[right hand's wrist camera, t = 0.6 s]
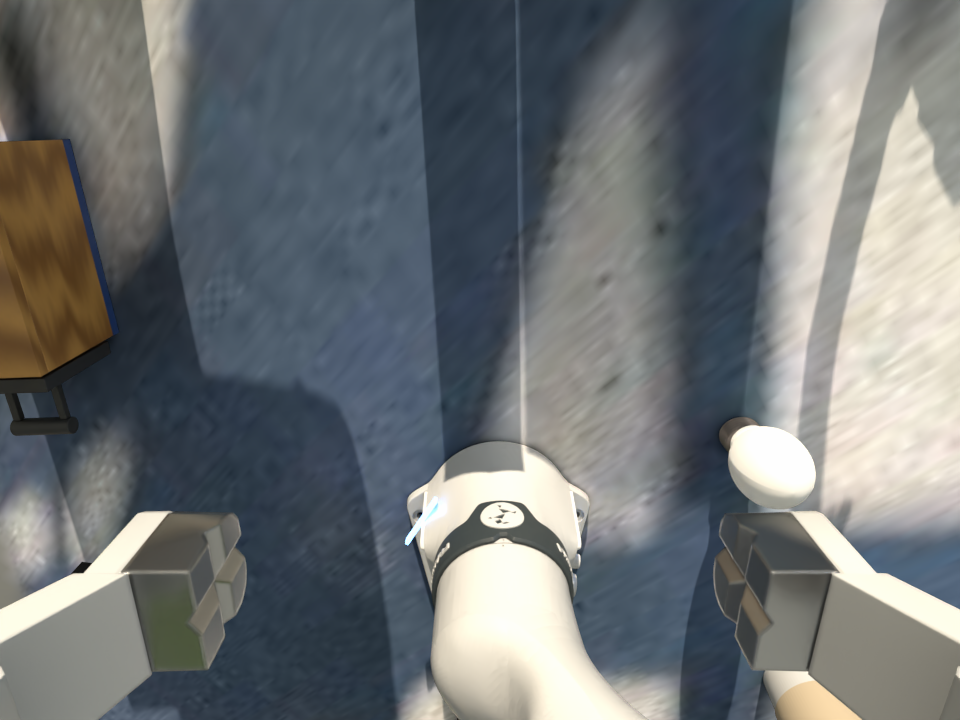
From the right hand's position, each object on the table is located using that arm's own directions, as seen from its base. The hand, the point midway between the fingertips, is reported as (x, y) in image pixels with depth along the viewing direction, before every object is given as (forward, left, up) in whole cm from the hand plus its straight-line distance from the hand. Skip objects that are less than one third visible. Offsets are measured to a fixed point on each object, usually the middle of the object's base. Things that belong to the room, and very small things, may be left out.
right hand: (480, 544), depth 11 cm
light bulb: (-22, -26, -47) cm, 58 cm away
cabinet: (-3, +39, -47) cm, 61 cm away
